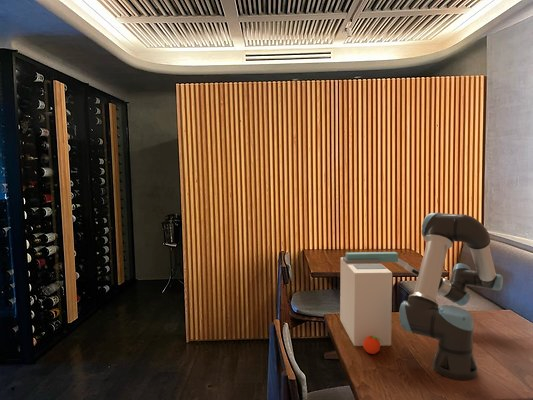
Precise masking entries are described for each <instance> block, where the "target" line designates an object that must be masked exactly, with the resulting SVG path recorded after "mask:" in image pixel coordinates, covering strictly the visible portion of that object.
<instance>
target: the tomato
mask: <svg viewBox="0 0 533 400" xmlns="http://www.w3.org/2000/svg"><path fill="white" fill-rule="evenodd" d="M378 339H379V338H377V337H373V336H369V337H367V338H365V340H364V342H363V346H362V347H363V349H364V351H365V352H366V353H368V354H371V355H375V354H377V353H379V352H380V349H381V346H380V342H379V340H380V339H379V340H378Z"/></svg>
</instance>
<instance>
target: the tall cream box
mask: <svg viewBox="0 0 533 400" xmlns="http://www.w3.org/2000/svg"><path fill="white" fill-rule="evenodd" d="M339 271H340V272H339V273H340V277H339V278H340V279H339V280H340V283H339V284H340V285H339V286H340V287H339V288H340V290H339V291H340V293H339V294H340V295H339V296H340V297H339V298H340V299H339V303H340V304H339V305H340V306H339V308H340V309H339V320H340V322H341V325H342V326H343V329H344V330H345V332H346V333H347V335H348V337H349V339H350V341H351V343H352V345H353V347H363V342H364V340H365V338H367V337H369V336H373V337H377V338H379V339H380V340H379V339H378V340H379V342H380V347H381V346H382V347H383V346H392V314H393V313H392V311H393V310H392V308H393V306H392V305H393V302H392V301H393V300H392V299H393V272H392V271H391V270H389V269H388V268H387V267H386V266H385V265H383V264H382V262H380V259H369V260H347V259H346V256H342V257H340V270H339Z"/></svg>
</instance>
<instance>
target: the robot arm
mask: <svg viewBox="0 0 533 400" xmlns="http://www.w3.org/2000/svg"><path fill="white" fill-rule="evenodd" d="M421 235H422V237H423V240H424V242H425V243H426V245H425V249H424V252H423V257H422V259H421V260H422V261H421V264H420V268H419V269H418V268H416V267H415V266H413V265H411V264H410V263H408V262H407V261H404V260H403V259H401V258H399V257H398V262H394V263H396V264H397V265H399V266H400V267H402V268H404V270H405V271H408V272H409V273H410V274H412V275H414V276H416V277H417V279H416V283H415V287H414V291H413V293H412V294H409V295H408V298H407V300H403V301H402V302H401V303H400V306H399V311H398V317H399V318H398V319H399V324H400V327H401V329H402V330H403V331H406V332H409V333H412V334H413V335H414V334H416V335H419V336H423V337H427V338H431V339H435V340H437V341H438V344H437V345H438V347H437V349H436V352H435V355H434V357H433V360H432V367H433V370H434V371H435V372H436V373H438V374H439V375H442V376H444V377H446V378H449V379H454V380H458V381H459V380H460V381H469V380H473V379H474V377H475V378H476V377H477V376H476V375H478V366H477V364H476V360H475V357H474V353H473V344H474V343H473V341H474V328H475V326H474V317H473V315H472V314H471V313H470V312H469V311H468V310H466V309H465V308H462V307H463V306H465V305H467V304H468V303H469V301H470V300H471V299H470V298H471V296H470V293H469V292H468V291H466V289H467V286H469V287H476V288H481V289H486V290H491V291H493V290H494V291H501V290H503V289H502V288H503V284H504V277H503V275H501V274H499V273H496V269H495V264H494V260H493V256H492V252H491V247H490V244H491V237H490V234H489V232H488V229H487V228H486V227H485V225H483V223H481V222H480V220H479V219H477V218H475V217H473V216H470V215H468V214H459V213H458V214H457V213H442V212H431V213H429V214H427V215H426V216H425V217H424V219H423V220H422V225H421ZM454 242H459V243H460V242H461V243H465V244H466V246H467V247H468V248H469V250H470V253H471V256H472V260H473V263H474V266H475V270H473V269H472V270H471V267H470V266H468V264H464V263H456V264H454V266H453V269H452V272H451V276H450V280H447V279H445V278H444V277H442V275H443V270H444V266H445V263H446V258H447V253H448V250H449V249H450V248H452V247H453V246H454V245H453V244H454ZM437 296H442V297H444V298H446V299H447V300H449V301H451V302H452V303H453V304H456V305H458V306H456V305H452V304H451V305H448V304H443V305H440V306H439V303H438V302H437ZM460 306H461V307H460Z"/></svg>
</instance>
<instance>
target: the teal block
mask: <svg viewBox="0 0 533 400" xmlns="http://www.w3.org/2000/svg"><path fill="white" fill-rule="evenodd" d="M345 257H346V259H347V260H369V259H380V263H395V262H398V258H399V253H398V252H397V251H372V252H371V251H361V252H358V251H357V252H356V251H354V252H353V251H351V252H349V251H348V252H345Z"/></svg>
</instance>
